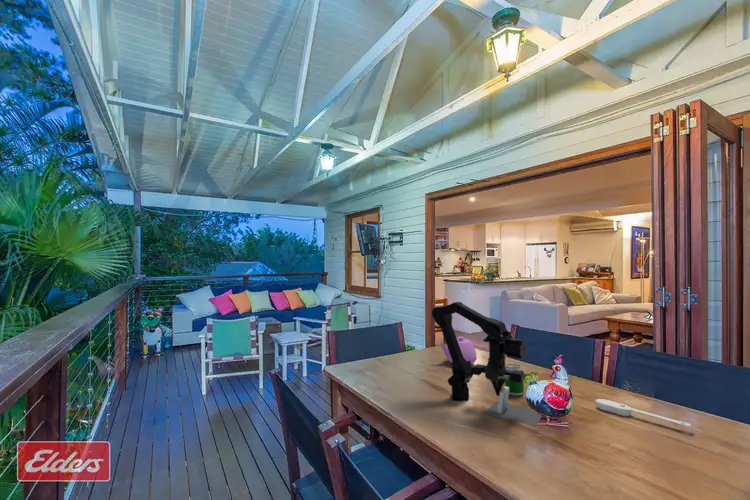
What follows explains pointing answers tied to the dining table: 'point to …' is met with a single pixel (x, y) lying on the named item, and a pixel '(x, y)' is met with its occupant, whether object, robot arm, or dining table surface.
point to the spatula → (629, 410)
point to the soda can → (514, 387)
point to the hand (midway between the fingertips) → (498, 395)
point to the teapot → (463, 350)
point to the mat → (515, 414)
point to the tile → (503, 399)
